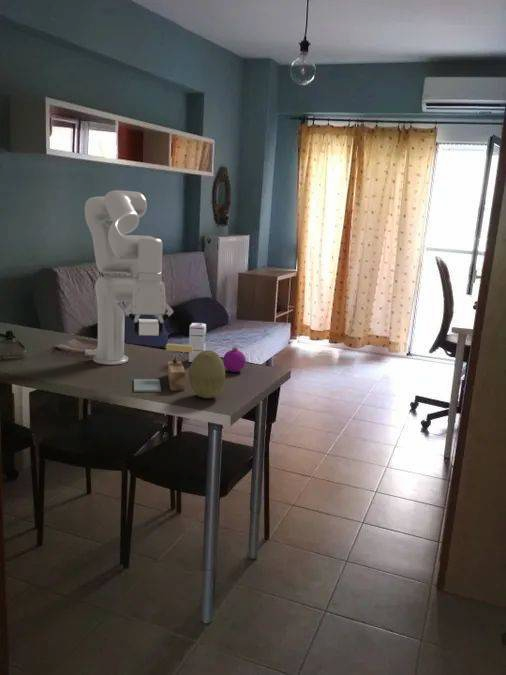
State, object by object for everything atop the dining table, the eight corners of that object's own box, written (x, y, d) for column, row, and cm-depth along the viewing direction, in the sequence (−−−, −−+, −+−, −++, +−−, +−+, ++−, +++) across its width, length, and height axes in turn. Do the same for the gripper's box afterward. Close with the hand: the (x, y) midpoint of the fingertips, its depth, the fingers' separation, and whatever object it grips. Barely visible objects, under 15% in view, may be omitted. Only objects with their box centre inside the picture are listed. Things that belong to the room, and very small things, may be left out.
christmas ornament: (222, 368, 219) (223, 341, 217) (244, 368, 220) (245, 342, 218) (222, 374, 211) (224, 347, 209) (245, 375, 212) (247, 347, 210)
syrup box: (203, 363, 223) (205, 326, 220) (188, 362, 223) (189, 325, 220) (205, 360, 229) (206, 323, 226) (190, 359, 229) (191, 322, 226)
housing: (170, 390, 189) (171, 372, 188) (167, 375, 206) (168, 358, 204) (184, 390, 190) (185, 372, 188) (180, 375, 206) (180, 358, 205)
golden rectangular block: (191, 365, 200) (192, 346, 199) (165, 362, 201) (166, 344, 200) (192, 363, 202) (193, 345, 201) (167, 361, 203) (167, 343, 202)
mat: (133, 391, 185) (134, 390, 185) (133, 380, 197) (133, 379, 196) (161, 391, 187) (161, 390, 187) (159, 380, 198) (159, 379, 198)
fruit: (181, 398, 181) (183, 351, 178) (197, 389, 192) (199, 344, 188) (215, 405, 177) (217, 356, 174) (230, 395, 188) (232, 349, 185)
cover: (138, 335, 182) (139, 325, 181) (138, 328, 191) (138, 319, 191) (158, 335, 183) (158, 325, 182) (157, 329, 193) (157, 319, 192)
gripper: (120, 278, 179) (120, 336, 183) (178, 280, 182) (176, 337, 186) (121, 275, 186) (120, 331, 190) (176, 277, 190) (174, 332, 193)
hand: (148, 333), depth 188 cm, fingers closed on cover, 6 cm apart
